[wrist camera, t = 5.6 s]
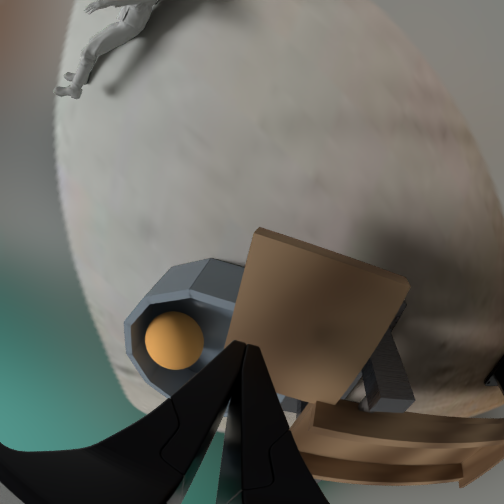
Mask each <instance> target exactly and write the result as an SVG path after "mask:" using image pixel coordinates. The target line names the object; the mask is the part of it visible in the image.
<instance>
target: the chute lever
mask: <svg viewBox="0 0 504 504" xmlns="http://www.w3.org/2000/svg"><path fill="white" fill-rule="evenodd" d="M410 287H411V286H410V284H409V282H408V281H407V279H406V277H403V276H401V275H398V274H395V273H392V272H390V271H387V270H384V269H381V268H379V267H376V266H373V265H370V264H367V263H365V262H362V261H359V260H356V259H353V258H350V257H348V256H345V255H342V254H339V253H336V252H333V251H330V250H327V249H324V248H321V247H318V246H316V245H313V244H310V243H307V242H304V241H301V240H298V239H295V238H292V237H289V236H286V235H283V234H279V233H276V232H273V231H270V230H267V229H264V228H261V227H259V228H258V229H257V230H256V231H255V232H254V234H253V238H252V242H251V246H250V250H249V253H248V257H247V261H246V265H245V269H244V273H243V277H242V280H241V284H240V288H239V292H238V296H237V300H236V304H235V307H234V311H233V315H232V319H231V323H230V327H229V331H228V335H227V338H226V342H225V346H224V349H225V348H226V347H227V346H228V345H229V344H230V343H231V342H232V341H233V340H238V341H241V342H245V343H246V345H247V344H252V345H256V346H259V347H260V349H261V352H262V355H263V358H264V360H265V363H266V366H267V369H268V371H269V374H270V377H271V380H272V382H273V385H274V388H275V391H276V393H278V394H282V395H285V396H288V397H291V398H295V399H298V400H302V401H305V402H309V403H308V404H307V406H306V407H305V409H304V410H303V411H302V413H301V414H300V415H299V417H298V418H297V420H296V421H295V422H294V424H293V425H292V426H291V427H290V429H289V430H291V432H292V435H293V438H294V440H295V443H296V445H297V447H298V449H299V452H300V454H301V456H302V458H303V460H304V462H305V463H306V465H307V467H308V469H309V471H310V472H311V474H312V476H313V477H314V479H320V480H326V481H334V482H342V483H352V484H364V485H385V486H386V485H387V486H388V485H389V486H400V485H401V486H403V485H404V486H405V485H426V484H437V483H447V482H454V481H459V488H463V487H465V486H467V485H468V484H470V483H471V482H473V481H474V480H476V479H477V478H479V477H480V476H482V475H483V474H484V473H486V472H487V471H489V470H490V469H491V468H492V467H494V466H495V465H496V464H498V463H499V462H500V461H501V460H503V459H504V418H500V419H486V418H485V419H484V418H461V417H447V416H436V415H427V414H419V413H412V412H404V413H391V412H375V411H369V407H368V402H367V397H366V396H365V398H364V399H363V400H362V401H361V402H360V403H356V402H352V401H348V400H343V399H340V398H341V397H342V396H343V394H344V393H345V392H346V390H347V389H348V388H349V386H350V385H351V384H352V382H353V381H354V379H355V378H356V377H357V375H358V374H359V372H360V371H361V370H362V368H363V367H364V365H365V364H366V362H367V361H368V359H369V358H370V356H371V355H372V353H373V352H374V350H375V349H376V347H377V346H378V344H379V342H380V341H381V339H382V337H383V336H384V334H385V333H386V331H387V329H388V328H389V326H390V324H391V322H392V321H393V319H394V317H395V315H396V314H397V312H398V310H399V308H400V306H401V305H402V303H403V301H404V299H405V297H406V295H407V293H408V291H409V289H410Z"/></svg>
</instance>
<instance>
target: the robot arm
mask: <svg viewBox="0 0 504 504" xmlns="http://www.w3.org/2000/svg"><path fill="white" fill-rule="evenodd" d="M484 384H485V386H499V388H500V390H501V391H502V393H503V395H504V356H503V358H502V359H501V361H500V362H499V363H498V365H497V366H496V367H495V369H494V370H493V371H492V372H491V374H490V375H489V376H488V377H487V379H486V380H485V381H484ZM230 398H231V399H230ZM229 401H230V403H229ZM228 404H229V408H228V415H227V422H226V430H225V437H224V445H223V452H222V460H221V468H220V475H219V483H218V490H217V498H216V504H330V503H329V502H328V500H327V499H326V497H325V496H324V494H323V493H322V491H321V489H320V488H319V486H318V484H317V483H316V481H315V479H314V477H313V476H312V474H311V472H310V471H309V469H308V467H307V465H306V463H305V462H304V460H303V458H302V456H301V454H300V452H299V449H298V447H297V445H296V443H295V440H294V438H293V435H292V432H291V430H289V429H290V428H289V425H288V422H287V420H286V417H285V414H284V412H283V409H282V407H281V404H280V401H279V399H278V396H277V393H276V391H275V388H274V385H273V382H272V380H271V377H270V374H269V371H268V369H267V366H266V363H265V360H264V358H263V355H262V352H261V349H260V347H259V346H256V345H252V344H247V345H246V343H245V342H241V341H238V340H233V341H232V342H231V343H230V344H229V345H228V346H227V347H226V348H225V349H223V350H222V351H221V352H220V353H219V354H218V355H217V356H216V357H215V358H214V359H212V360H211V361H210V362H209V363H208V364H207V365H206V366H205V367H204V368H202V369H201V370H200V371H199V372H198V373H197V374H196V375H195V376H193V377H192V378H191V379H190V380H189V381H188V382H187V383H185V384H184V385H183V386H182V387H181V388H180V389H179V390H177V391H176V392H175V393H174V394H173V395H172V396H170V398H168V399H167V400H165V401H164V402H163V403H162V404H161V405H159V406H158V407H157V408H156V409H154V410H153V411H152V412H150V413H149V414H148V415H146V416H144V417H143V418H141V419H140V420H138V421H137V422H135V423H133V424H132V425H130V426H128V427H126V428H125V429H123V430H121V431H119V432H117V433H116V434H114V435H112V436H110V437H108V438H106V439H105V440H103V441H101V442H99V443H97V444H94V445H92V446H89V447H85V448H80V449H72V450H60V451H37V452H25V451H17V450H13V449H10V448H8V447H6V446H4V445H3V444H2V443H1V442H0V504H181V503H182V501H183V499H184V497H185V495H186V493H187V491H188V489H189V487H190V485H191V483H192V481H193V479H194V477H195V475H196V472H197V471H198V469H199V467H200V465H201V463H202V461H203V458H204V456H205V454H206V452H207V450H208V448H209V446H210V444H211V442H212V439H213V437H214V435H215V433H216V431H217V429H218V427H219V424H220V422H221V420H222V418H223V416H224V413H225V411H226V409H227V406H228Z"/></svg>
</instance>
